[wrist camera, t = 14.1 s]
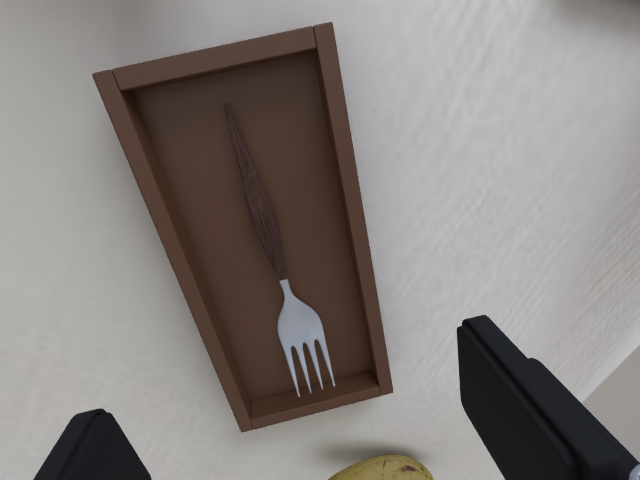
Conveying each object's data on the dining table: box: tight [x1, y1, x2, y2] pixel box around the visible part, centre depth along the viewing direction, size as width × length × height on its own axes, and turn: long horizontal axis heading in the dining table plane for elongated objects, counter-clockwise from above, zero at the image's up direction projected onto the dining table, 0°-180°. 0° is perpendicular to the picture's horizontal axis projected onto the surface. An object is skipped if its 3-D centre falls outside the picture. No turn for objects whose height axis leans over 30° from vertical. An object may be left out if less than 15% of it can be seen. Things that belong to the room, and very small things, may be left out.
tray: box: [92, 22, 393, 432], centre depth 19 cm, size 10×20×2 cm, turn 12°
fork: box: [224, 103, 335, 397], centre depth 18 cm, size 3×16×2 cm, turn 14°
